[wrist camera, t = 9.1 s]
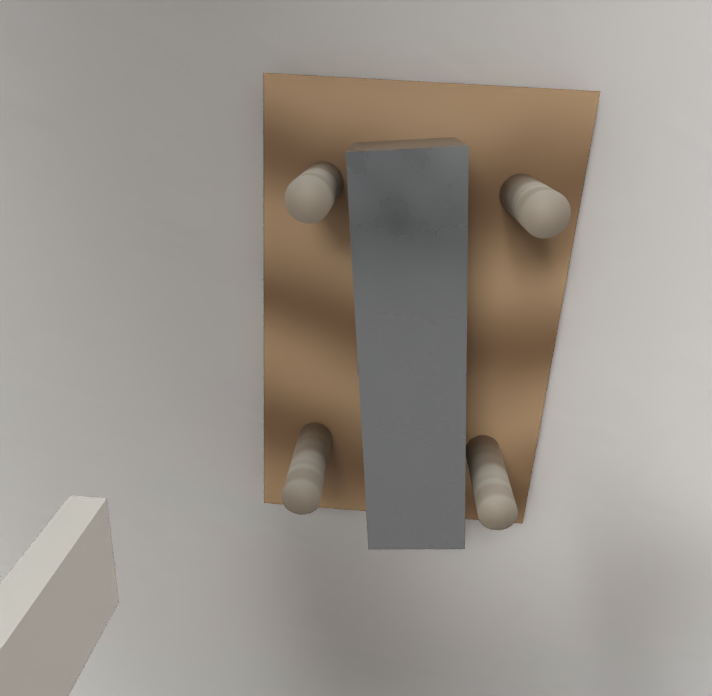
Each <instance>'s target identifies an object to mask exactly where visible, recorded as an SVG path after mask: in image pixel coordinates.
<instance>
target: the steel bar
mask: <svg viewBox="0 0 712 696" xmlns="http://www.w3.org/2000/svg"><path fill="white" fill-rule="evenodd" d="M468 163H469V146H468V145H467V144H465V143H464V142H462V141H461V140H459V139H458V138H456V137H446V138H428V139H409V140H390V141H371V142H355V143H354V144H353V145H352V146H351V147H350V148H349V149H348V150H347V151H346V168H347V185H348V202H349V220H350V237H351V254H352V272H353V289H354V306H355V324H356V341H357V358H358V376H359V393H360V410H361V428H362V445H363V462H364V480H365V497H366V514H367V532H368V549H465V469H466V367H467V265H468Z"/></svg>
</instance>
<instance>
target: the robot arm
mask: <svg viewBox="0 0 712 696" xmlns="http://www.w3.org/2000/svg"><path fill="white" fill-rule="evenodd" d="M118 602H119V599H118V590H117V581H116V573H115V564H114V556H113V547H112V539H111V530H110V522H109V513H108V504H107V498H97V497H84V496H71V495H70V496H69V498H68V499H67V500H66V501H65V503H64V504H63V505H62V506H61V508H60V509H59V510H58V511H57V513H56V514H55V515H54V516H53V518H52V519H51V520H50V521H49V523H48V524H47V525H46V526H45V528H44V529H43V530H42V531H41V533H40V534H39V535H38V536H37V538H36V539H35V540H34V541H33V543H32V544H31V545H30V546H29V548H28V549H27V550H26V551H25V553H24V554H23V555H22V556H21V558H20V559H19V560H18V561H17V563H16V564H15V565H14V566H13V568H12V569H11V570H10V571H9V573H8V574H7V575H6V576H5V578H4V579H3V580H2V581H1V583H0V696H69V694H70V692H71V690H72V688H73V686H74V684H75V683H76V681H77V679H78V677H79V675H80V673H81V671H82V670H83V668H84V666H85V664H86V662H87V660H88V658H89V656H90V655H91V653H92V651H93V649H94V647H95V645H96V643H97V642H98V640H99V638H100V636H101V634H102V632H103V630H104V629H105V627H106V625H107V623H108V621H109V619H110V617H111V616H112V614H113V612H114V610H115V608H116V606H117V604H118Z"/></svg>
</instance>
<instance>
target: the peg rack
mask: <svg viewBox="0 0 712 696" xmlns="http://www.w3.org/2000/svg"><path fill="white" fill-rule="evenodd" d="M599 96H600V91H583V90H565V89H547V88H529V87H511V86H493V85H475V84H456V83H438V82H420V81H402V80H384V79H366V78H348V77H330V76H311V75H293V74H275V73H263V144H264V503H272V504H284V506H285V507H286V508H287V509H288V510H289V511H291V512H293V513H296V514H309V513H311V512H313V511H315V510H316V509H317V508H318V507H322V508H335V509H347V510H360V511H366V497H365V480H364V462H363V445H362V428H361V410H360V393H359V376H358V358H357V341H356V324H355V306H354V289H353V272H352V254H351V237H350V220H349V202H348V185H347V168H346V151H347V150H348V149H349V148H350V147H351V146H352V145H353V144H354V143H355V142H371V141H390V140H409V139H428V138H446V137H456V138H458V139H459V140H461V141H462V142H464V143H465V144H467V145H468V146H469V163H468V265H467V367H466V469H465V519H473V520H479V521H480V522H481V523H482V525H484V526H485V527H487V528H489V529H492V530H502V529H506V528H508V527H510V526H511V525H512V524H513V523H523V518H524V512H525V507H526V501H527V496H528V490H529V485H530V479H531V474H532V468H533V463H534V457H535V451H536V446H537V440H538V435H539V429H540V424H541V418H542V413H543V407H544V402H545V396H546V390H547V385H548V379H549V374H550V368H551V363H552V357H553V352H554V346H555V340H556V335H557V329H558V324H559V318H560V313H561V307H562V302H563V296H564V291H565V285H566V279H567V274H568V268H569V263H570V257H571V252H572V246H573V241H574V235H575V230H576V224H577V218H578V213H579V207H580V202H581V196H582V191H583V185H584V180H585V174H586V169H587V163H588V157H589V152H590V146H591V141H592V135H593V130H594V124H595V119H596V113H597V107H598V102H599Z"/></svg>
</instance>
